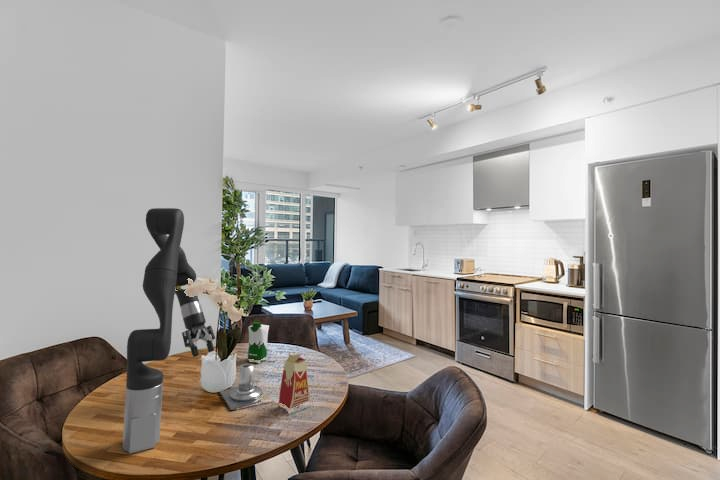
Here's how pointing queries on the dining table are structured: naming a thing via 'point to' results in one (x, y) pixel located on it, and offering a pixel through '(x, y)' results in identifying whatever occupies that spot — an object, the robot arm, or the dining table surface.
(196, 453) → the dining table surface
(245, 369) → the hub
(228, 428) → the dining table surface
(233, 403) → the plate on grey tray
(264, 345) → the soya milk
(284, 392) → the milk carton
